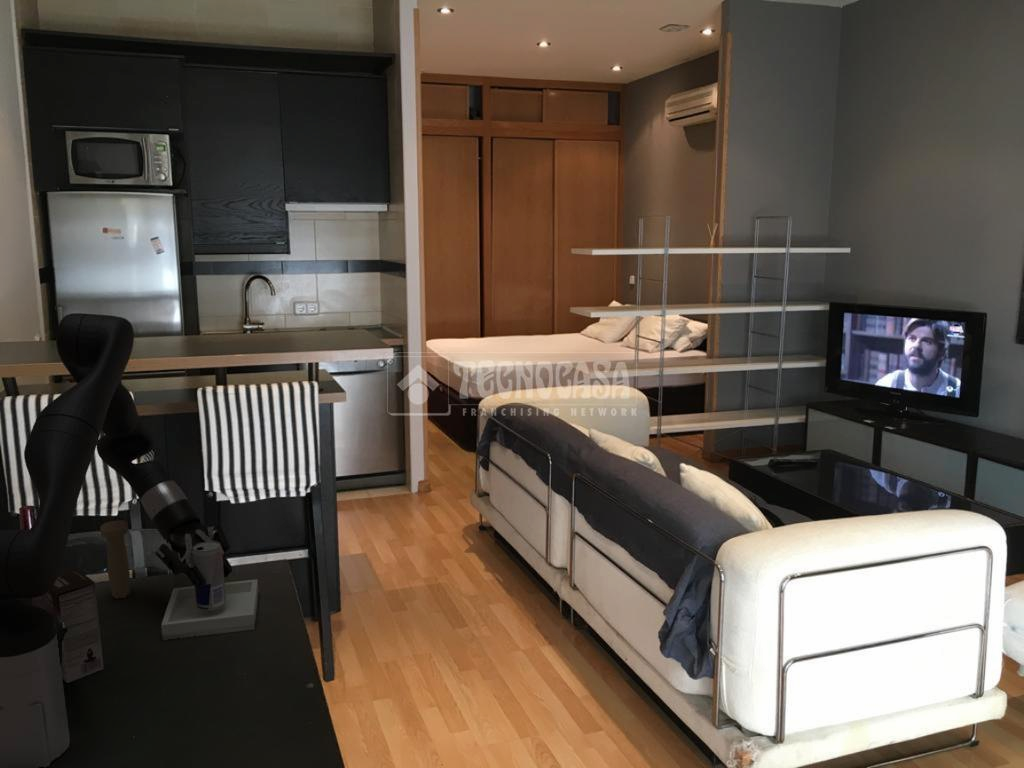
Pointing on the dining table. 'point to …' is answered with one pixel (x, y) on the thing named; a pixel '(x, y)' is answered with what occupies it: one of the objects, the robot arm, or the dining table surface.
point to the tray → (211, 612)
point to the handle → (117, 557)
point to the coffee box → (77, 624)
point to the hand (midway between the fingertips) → (215, 580)
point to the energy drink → (210, 575)
